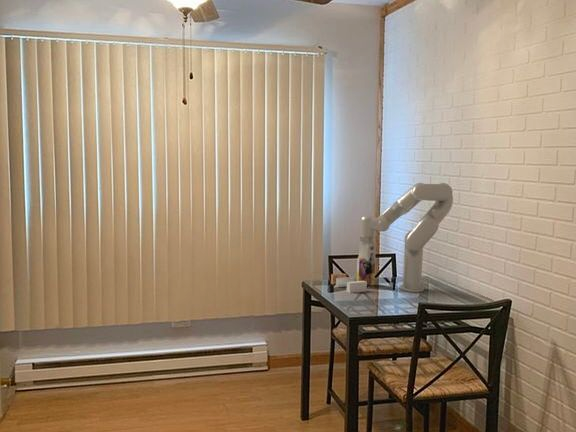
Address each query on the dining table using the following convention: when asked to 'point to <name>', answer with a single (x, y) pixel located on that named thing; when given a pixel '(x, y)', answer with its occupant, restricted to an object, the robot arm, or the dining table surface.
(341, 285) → the sliding jaw
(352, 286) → the vise base
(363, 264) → the candy box
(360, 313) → the dining table surface
